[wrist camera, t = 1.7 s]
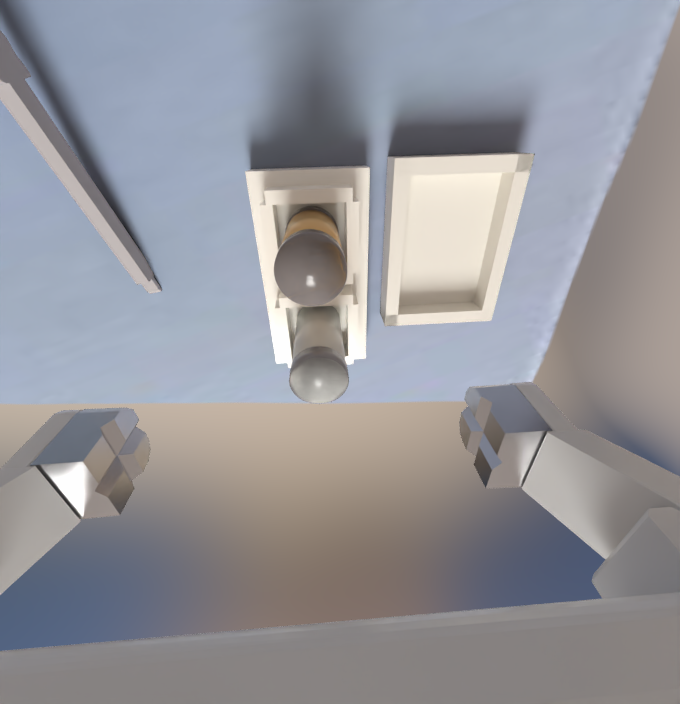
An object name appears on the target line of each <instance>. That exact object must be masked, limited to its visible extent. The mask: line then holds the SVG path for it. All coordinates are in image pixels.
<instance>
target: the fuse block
mask: <svg viewBox="0 0 680 704" xmlns="http://www.w3.org/2000/svg"><path fill="white" fill-rule="evenodd" d="M245 173H246V180H247V186H248V192H249V198H250V204H251V210H252V216H253V223H254V229H255V235H256V241H257V247H258V253H259V260H260V266H261V272H262V278H263V284H264V290H265V296H266V303H267V309H268V315H269V321H270V327H271V333H272V339H273V346H274V352H275V358H276V363H288V368H290V367H291V369H290V378H289V383H290V387H291V389H292V391H293V393H294V394H295V395H296V396H297V397H299V398H300V399H302V400H304V401H306V402H309V403H314V404H323V403H328V402H332V401H334V400H336V399H338V398H339V397H340V396H341V395H343V393H344V392H345V391H346V389H347V387H348V383H349V377H348V369H347V364H353V359H365V358H366V318H367V274H368V229H369V185H370V167H368V166H366V165H364V166H334V167H303V168H273V169H250V170H248V171H246V172H245ZM306 206H317V207H321V208H323V209H325V210H326V211H328V212H329V213H330V214H331V215H332V216H333V218H334V219H335V221H336V224H337V227H338V231H339V238H340V242H341V247H342V250H343V252H344V255H345V260H346V264H347V279H346V283H345V285H344V287H343V289H342V291H341V292H340V293H339V295H338V296H337V297H335V298H334V299H333V300H331V301H330V302H328V303H326V304H323V305H319V306H304V305H300V304H298V303H295V302H293V301H291V300H290V299H289V298H287V297H286V296H285V295H284V294H283V293H282V292H281V290H280V289H279V287H278V285H277V283H276V280H275V276H274V263H275V259H276V256H277V253H278V250H279V248H280V246H281V244H282V241H283V238H284V235H285V230H286V226H287V224H288V221H289V219H290V217H291V216H292V215H293V213H294V212H296V211H297V210H298V209H300V208H303V207H306Z"/></svg>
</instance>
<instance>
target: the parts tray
mask: <svg viewBox="0 0 680 704" xmlns="http://www.w3.org/2000/svg"><path fill="white" fill-rule="evenodd" d="M534 155H535V154H532V153H517V152H510V153H479V154H447V155H416V156H388V159H387V180H386V201H385V222H384V243H383V264H382V284H381V305H380V314H381V316H382V319H383V322H384V325H385V326H398V325H417V324H436V323H456V322H475V321H491V320H492V316H493V312H494V308H495V304H496V300H497V297H498V293H499V289H500V285H501V281H502V277H503V274H504V270H505V266H506V262H507V258H508V254H509V251H510V247H511V243H512V239H513V235H514V231H515V228H516V224H517V220H518V216H519V212H520V208H521V205H522V201H523V197H524V193H525V189H526V185H527V182H528V178H529V174H530V170H531V166H532V162H533V159H534Z"/></svg>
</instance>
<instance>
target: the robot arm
mask: <svg viewBox="0 0 680 704" xmlns="http://www.w3.org/2000/svg"><path fill="white" fill-rule="evenodd" d="M465 401H466V403H467V404H468V407H467V408H466V409H465V410H464V411H463V412H462V413H461V417H460V422H459V424H460V434H461V438H462V441H463V443H464V446H465V447H466V449H467V450H468V451H469V452H471V453H472V454H473V455H475V456H476V458H475V463H474V466H475V468H476V470H477V472H478V474H479V476H480V478H481V480H482V482H483V484H484V486H485V488H507V487H522V489H523V490H524V491H525V492H526V493H527V494H529V495H530V496H531V497H532V498H533V499H534V500H536V501H537V502H538V503H539V504H541V505H542V506H543V507H544V508H545V509H546V510H548V511H549V512H550V513H551V514H552V515H553V516H555V517H556V518H557V519H558V520H559V521H561V522H562V523H563V524H564V525H565V526H567V527H568V528H569V529H570V530H571V531H572V532H574V533H575V534H576V535H577V536H578V537H580V538H581V539H582V540H583V541H584V542H586V543H587V544H588V545H589V546H590V547H592V548H593V549H594V550H595V551H596V552H598V553H599V554H600V555H601V556H602V557H603V558H605V559H606V560H605V561H604V563H603V564H602V565H601V566H600V567H599V568H598V570H597V571H596V572H595V573H594V576H593V579H592V582H593V584H594V585H595V587H596V589H597V590H598V592H599V594H600V595H601V597H602V599H595V600H583V601H572V602H560V603H548V604H537V605H525V606H515V607H502V608H491V609H479V610H468V611H456V612H445V613H433V614H422V615H410V616H398V617H387V618H375V619H364V620H353V621H341V622H331V623H330V622H329V623H318V624H307V625H295V626H283V627H271V628H260V629H249V630H237V631H225V632H214V633H202V634H192V635H179V636H169V637H156V638H145V639H133V640H122V641H110V642H99V643H88V644H76V645H64V646H53V647H42V648H31V649H18V650H7V651H0V704H680V477H679V476H677V475H675V474H673V473H671V472H669V471H667V470H665V469H663V468H661V467H659V466H657V465H655V464H653V463H651V462H649V461H647V460H645V459H643V458H641V457H639V456H637V455H635V454H633V453H631V452H629V451H627V450H625V449H623V448H621V447H619V446H617V445H615V444H613V443H611V442H609V441H607V440H605V439H603V438H601V437H599V436H597V435H595V434H593V433H591V432H589V431H587V430H585V429H581V430H578V429H577V428H576V427H575V426H574V425H573V424H572V423H571V422H570V421H569V420H568V418H566V416H565V415H564V414H563V413H562V412H561V411H560V410H559V409H558V408H557V407H556V405H555V404H554V403H553V402H552V401H551V400H550V399H549V398H548V397H547V396H546V395H545V393H544V392H543V391H542V390H541V389H540V388H539V387H538V386H537V385H536V384H534V383H532V382H524V383H512V384H503V385H489V386H474V387H469V388H468V390H467V391H466V395H465ZM138 421H139V419H138V417H137V415H136V414H135V412H134V410H133V409H129V408H107V409H84V410H64V411H61V412H58V413H56V414H54V415H53V416H52V417H51V418H50V419H49V420H48V421H47V422H46V423H45V424H44V425H43V426H42V427H41V428H40V429H39V430H38V431H37V432H36V433H35V434H34V435H33V436H32V437H31V438H30V439H29V440H28V441H27V442H26V443H25V444H24V445H23V446H22V447H21V448H20V449H19V450H18V451H17V452H16V453H15V454H14V455H13V456H12V457H11V459H10V460H9V461H8V462H7V463H6V464H5V465H4V466H3V467H2V468H0V595H1V594H2V593H3V592H4V591H5V590H6V589H7V588H8V587H9V586H10V585H11V584H12V583H13V582H15V581H16V580H17V579H18V578H19V577H20V576H21V575H22V574H24V573H25V572H26V571H27V570H28V569H29V568H30V567H31V566H32V565H33V564H34V563H36V562H37V561H38V560H39V559H40V558H41V557H42V556H43V555H44V554H45V553H46V552H48V551H49V550H50V549H51V548H52V547H53V546H54V545H55V544H56V543H57V542H58V541H60V540H61V539H62V538H63V537H64V536H65V535H66V534H67V533H68V532H69V531H71V529H73V528H74V527H75V526H76V525H77V524H78V523H79V522H80V519H87V518H97V517H107V516H117V515H120V514H121V512H122V511H123V509H124V507H125V505H126V503H127V501H128V499H129V497H130V496H131V494H132V492H133V490H134V485H133V482H132V480H133V479H135V478H136V477H137V476H138V475H140V474H141V473H142V472H143V471H144V469H145V467H146V465H147V463H148V461H149V455H150V443H149V439H148V437H147V435H146V433H145V432H143V431H142V430H140V429H139V428H137V427H136V425H137V423H138Z"/></svg>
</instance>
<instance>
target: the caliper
mask: <svg viewBox="0 0 680 704" xmlns="http://www.w3.org/2000/svg"><path fill="white" fill-rule="evenodd" d="M29 77H31V75H30V73H29V71H28V70H27V68H26V67H25V66H24V64H23V63H22V62H21V61H20V59H19V58H18V57H17V55H16V54H15V52H14V51H13V49H12V47H11V45H10V43H9V41H8V40H7V38H6V37H5V36H4V34H3V33H2V32H1V31H0V99H1V101H2V102H3V104H4V105H5V106H6V108H7V109H8V110H9V112H10V113H11V114H12V116H13V117H14V118H15V120H16V121H17V123H18V124H19V125H20V127H21V128H22V129H23V131H24V132H25V133H26V135H27V136H28V137H29V139H30V140H31V142H32V143H33V144H34V146H35V147H36V148H37V150H38V151H39V152H40V154H41V155H42V156H43V158H44V159H45V161H46V162H47V163H48V165H49V166H50V167H51V169H52V170H53V171H54V173H55V174H56V175H57V177H58V178H59V180H60V181H61V182H62V184H63V185H64V186H65V188H66V189H67V190H68V192H69V193H70V194H71V196H72V197H73V199H74V200H75V201H76V203H77V204H78V205H79V207H80V208H81V209H82V211H83V212H84V213H85V215H86V216H87V218H88V219H89V220H90V222H91V223H92V224H93V226H94V227H95V228H96V230H97V231H98V232H99V234H100V235H101V236H102V238H103V239H104V241H105V242H106V243H107V245H108V246H109V247H110V249H111V250H112V251H113V253H114V254H115V255H116V257H117V258H118V259H119V261H120V262H121V263H122V265H123V266H124V268H125V269H126V270H127V272H128V273H129V274H130V276H131V277H132V278H133V280H134V281H135V282H136V284H137V285H138V284H142V286H143V287H144V288H145V290H146V291H147V292H149V293H150V294H151V293H156V292H160V291H162V289H161V287H160V286H159V284H158V283H157V281H156V280H155V278H154V277H153V276H154V274H153V272H152V270H151V268H150V267H149V265H148V263H147V261H146V259H145V257H144V256H143V254H142V253H141V251H140V250H139V248H138V247H137V245H136V244H135V243H134V241H133V240H132V238H131V237H130V235H129V234H128V232H127V231H126V229H125V228H124V226H123V225H122V223H121V222H120V220H119V219H118V217H117V216H116V215H115V213H114V212H113V210H112V209H111V207H110V206H109V204H108V203H107V201H106V200H105V198H104V197H103V195H102V194H101V192H100V191H99V189H98V188H97V186H96V185H95V183H94V182H93V181H92V179H91V178H90V176H89V175H88V173H87V172H86V170H85V169H84V167H83V166H82V164H81V163H80V161H79V160H78V158H77V157H76V155H75V154H74V152H73V151H72V149H71V148H70V146H69V145H68V143H67V142H66V140H65V139H64V137H63V136H62V134H61V133H60V131H59V130H58V128H57V127H56V125H55V124H54V122H53V121H52V119H51V118H50V116H49V115H48V113H47V112H46V111H45V109H44V108H43V106H42V105H41V103H40V102H39V100H38V99H37V97H36V96H35V94H34V93H33V91H32V90H31V88H30V87H29V85H28V84H27V82H26V81H25V79H26V78H29Z"/></svg>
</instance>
